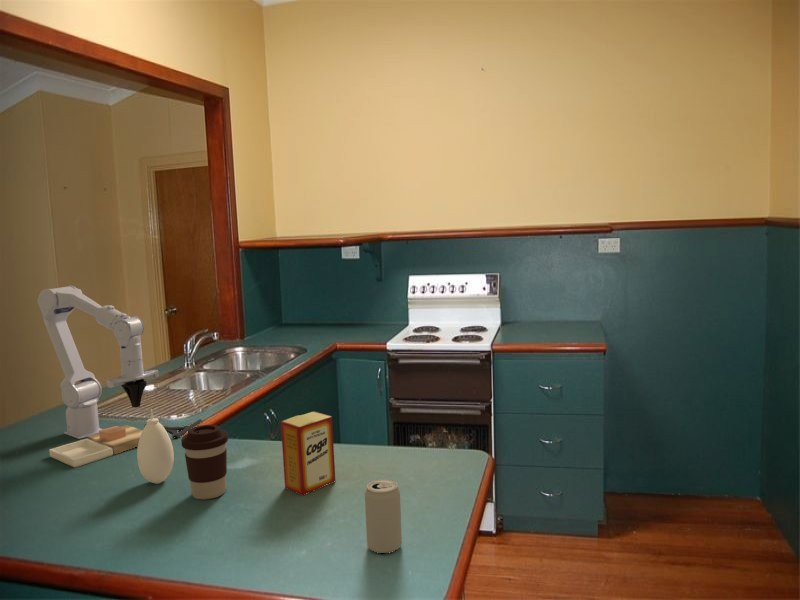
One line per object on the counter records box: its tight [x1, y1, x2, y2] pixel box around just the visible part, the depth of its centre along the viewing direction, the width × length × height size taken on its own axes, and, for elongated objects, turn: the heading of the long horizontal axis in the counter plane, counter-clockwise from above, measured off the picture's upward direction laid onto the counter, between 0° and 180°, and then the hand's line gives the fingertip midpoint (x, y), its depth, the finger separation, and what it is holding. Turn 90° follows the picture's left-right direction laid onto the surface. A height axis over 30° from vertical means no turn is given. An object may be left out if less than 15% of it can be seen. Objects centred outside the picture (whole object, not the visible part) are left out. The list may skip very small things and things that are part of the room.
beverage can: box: [364, 478, 403, 554], centre depth 116 cm, size 6×6×12 cm
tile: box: [99, 425, 126, 442], centre depth 177 cm, size 5×5×2 cm
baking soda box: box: [280, 411, 336, 496], centre depth 145 cm, size 10×6×16 cm
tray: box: [48, 438, 114, 469], centre depth 170 cm, size 14×10×2 cm
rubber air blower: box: [136, 408, 175, 485], centre depth 150 cm, size 8×8×18 cm
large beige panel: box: [87, 424, 143, 456], centre depth 179 cm, size 14×12×2 cm
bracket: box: [143, 419, 203, 439], centre depth 189 cm, size 14×15×3 cm
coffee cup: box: [180, 424, 229, 501], centre depth 142 cm, size 10×10×15 cm
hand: (136, 406), depth 182 cm, fingers closed
